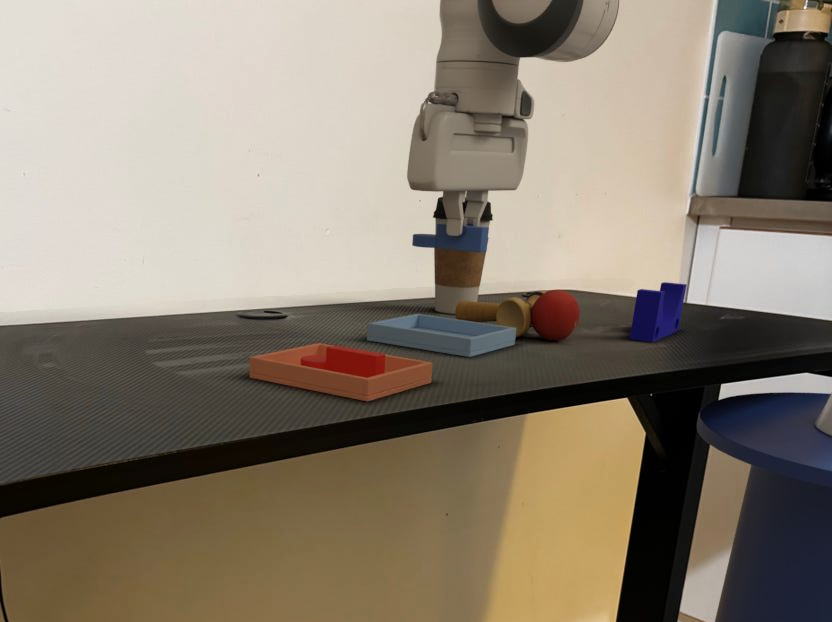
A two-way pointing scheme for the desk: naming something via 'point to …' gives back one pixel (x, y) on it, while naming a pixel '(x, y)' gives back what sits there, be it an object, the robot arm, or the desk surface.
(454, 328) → the blue tray
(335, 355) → the red stepped block
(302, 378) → the red tray
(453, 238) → the blue stepped block
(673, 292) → the cable clip
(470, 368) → the desk surface
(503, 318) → the kendama
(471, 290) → the coffee cup
